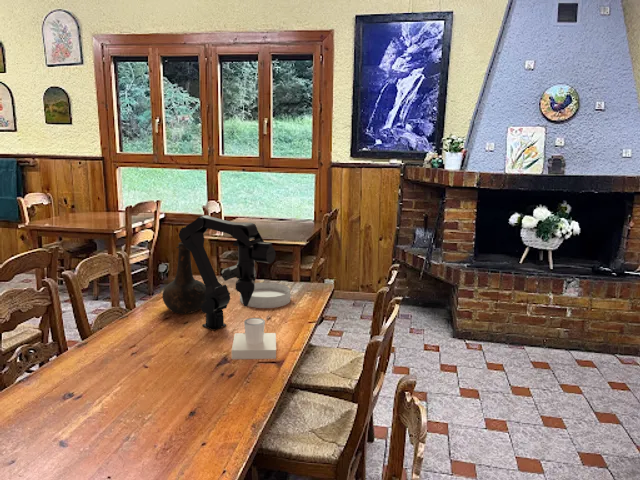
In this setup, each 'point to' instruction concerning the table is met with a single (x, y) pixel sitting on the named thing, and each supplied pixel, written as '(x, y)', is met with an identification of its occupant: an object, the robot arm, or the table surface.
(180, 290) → the glass bottle
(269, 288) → the dish
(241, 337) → the base block
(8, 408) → the table surface
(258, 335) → the white cup
